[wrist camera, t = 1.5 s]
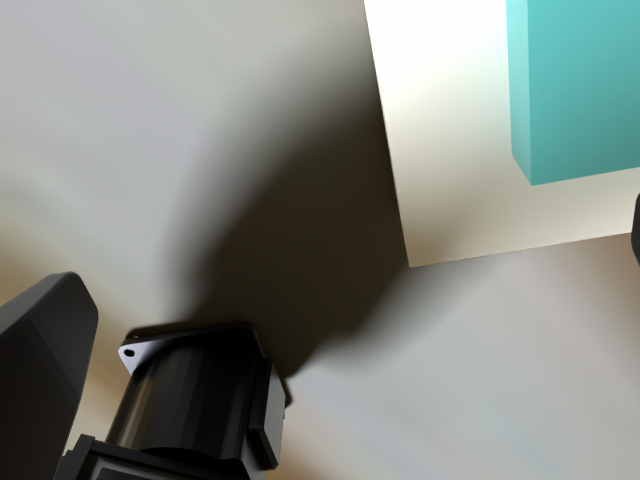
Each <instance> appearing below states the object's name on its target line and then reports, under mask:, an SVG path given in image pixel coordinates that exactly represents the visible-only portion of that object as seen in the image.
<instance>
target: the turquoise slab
mask: <svg viewBox="0 0 640 480" xmlns="http://www.w3.org/2000/svg"><path fill="white" fill-rule="evenodd" d="M506 23H507V48H508V72H509V97H510V121H511V146H512V156H513V157H514V159H515V161H516V162H517V164H518V165H519V167H520V169H521V170H522V172H523V173H524V175H525V177H526V178H527V180H528V181H529V183H530V185H531V186H534V185H540V184H546V183H552V182H557V181H563V180H569V179H574V178H580V177H586V176H591V175H597V174H603V173H608V172H614V171H620V170H625V169H631V168H637V167H640V0H506Z"/></svg>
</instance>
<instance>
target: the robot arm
mask: <svg viewBox="0 0 640 480" xmlns="http://www.w3.org/2000/svg"><path fill="white" fill-rule="evenodd" d="M631 245H632V250H633V253H634V255H635V257H636V260H637V262H638V264H639V267H640V193H639V194H638V196H637V198H636V203H635V210H634V217H633V225H632V232H631ZM97 325H98V310H97V307H96V305H95V303H94V301H93V299H92V297H91V296H90V294H89V292H88V290H87V288H86V286H85V285H84V283H83V281H82V279H81V277H80V276H79V275H78V274H77V273H75V272H72V271H70V272H62V273H55V274H51V275H48V276H47V277H45V278H44V279H42V280H41V281H39V282H38V283H36V284H35V285H33V286H31V287H30V288H28V289H27V290H25V291H24V292H22V293H21V294H19V295H18V296H16V297H15V298H13V299H12V300H10V301H9V302H7V303H5V304H4V305H2V306H1V307H0V480H266V473H267V471H269V470H275V469H276V467H277V466H278V465H279V459H280V449H281V438H282V427H283V420H284V417H285V408H284V406H285V393H284V391H283V388H282V385H281V382H280V379H279V377H278V374H277V371H276V368H275V366H274V363H273V361H272V360H271V359H269V358H266V357H265V354H264V351H263V348H262V346H261V343H260V340H259V338H258V335H257V332H256V329H255V327H254V326H253V325H252V324H251V323H249V322H235V323H229V324H222V325H216V326H209V327H203V328H196V329H190V330H184V331H177V332H171V333H164V334H158V335H151V336H145V337H139V338H132V339H127V340H124V341H123V342H122V343H121V346H120V348H119V351H118V352H119V355H120V357H121V359H122V360H123V362H124V364H125V366H126V368H127V369H128V371H129V373H130V375H131V378H130V380H129V383H128V385H127V387H126V390H125V392H124V395H123V397H122V400H121V402H120V405H119V407H118V410H117V412H116V415H115V417H114V420H113V422H112V425H111V427H110V430H109V432H108V435H107V437H106V439H105V442H102V441H98V440H95V437H93V436H89V435H85V434H81V435H80V437H79V439H78V441H77V443H76V445H75V447H74V449H73V450H68V451H67V452H66V454H65V456H62V455H63V452H64V449H65V446H66V443H67V440H68V437H69V434H70V431H71V428H72V425H73V422H74V419H75V416H76V413H77V410H78V407H79V403H80V400H81V396H82V392H83V389H84V384H85V380H86V375H87V371H88V366H89V362H90V357H91V352H92V348H93V343H94V339H95V334H96V329H97ZM240 332H246V333H247V334H243V333H240ZM128 349H131V350H133V351H130V350H128Z"/></svg>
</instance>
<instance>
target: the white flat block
mask: <svg viewBox="0 0 640 480" xmlns="http://www.w3.org/2000/svg"><path fill="white" fill-rule="evenodd" d="M364 4H365V10H366V16H367V22H368V28H369V34H370V40H371V46H372V52H373V58H374V64H375V70H376V76H377V82H378V88H379V94H380V100H381V106H382V112H383V118H384V124H385V130H386V136H387V142H388V148H389V154H390V160H391V166H392V172H393V178H394V184H395V190H396V196H397V202H398V208H399V214H400V219H401V224H402V230H403V235H404V240H405V246H406V251H407V256H408V261H409V267H410V268H412V267H418V266H424V265H430V264H437V263H443V262H449V261H455V260H461V259H467V258H474V257H480V256H486V255H492V254H498V253H504V252H511V251H517V250H523V249H529V248H535V247H542V246H548V245H554V244H560V243H566V242H572V241H579V240H585V239H591V238H597V237H603V236H609V235H616V234H622V233H628V232H632V225H633V217H634V210H635V203H636V198H637V196H638V194H639V193H640V167H637V168H631V169H625V170H620V171H614V172H608V173H603V174H597V175H591V176H586V177H580V178H574V179H569V180H563V181H557V182H552V183H546V184H540V185H534V186H531V185H530V183H529V181H528V180H527V178H526V177H525V175H524V173H523V172H522V170H521V169H520V167H519V165H518V164H517V162H516V161H515V159H514V157H513V156H512V146H511V121H510V97H509V72H508V48H507V23H506V0H364Z"/></svg>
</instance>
